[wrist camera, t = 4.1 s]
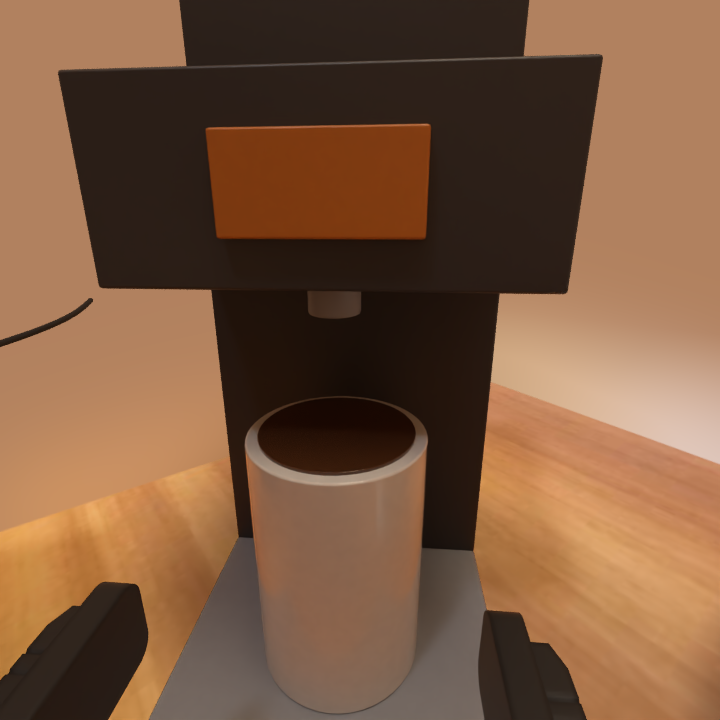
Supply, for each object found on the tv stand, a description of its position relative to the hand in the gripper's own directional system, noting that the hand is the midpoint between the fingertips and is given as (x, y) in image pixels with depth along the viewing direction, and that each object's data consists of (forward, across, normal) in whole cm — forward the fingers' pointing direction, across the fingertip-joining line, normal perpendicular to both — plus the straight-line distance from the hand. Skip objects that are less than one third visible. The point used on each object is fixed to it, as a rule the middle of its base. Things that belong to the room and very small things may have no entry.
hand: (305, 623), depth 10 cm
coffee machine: (+8, 0, +8) cm, 12 cm away
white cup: (+5, 0, +7) cm, 9 cm away
